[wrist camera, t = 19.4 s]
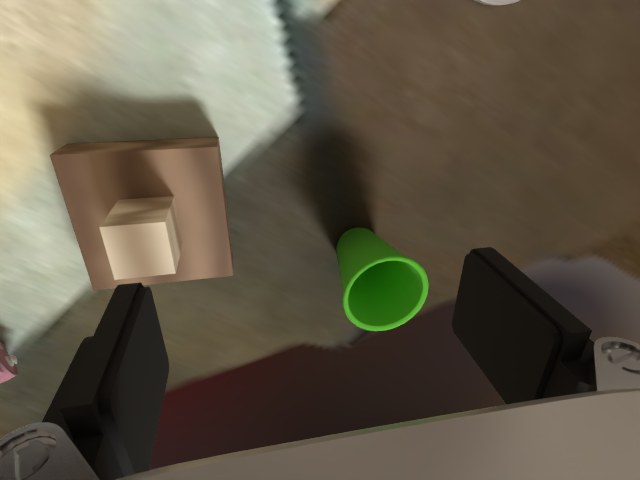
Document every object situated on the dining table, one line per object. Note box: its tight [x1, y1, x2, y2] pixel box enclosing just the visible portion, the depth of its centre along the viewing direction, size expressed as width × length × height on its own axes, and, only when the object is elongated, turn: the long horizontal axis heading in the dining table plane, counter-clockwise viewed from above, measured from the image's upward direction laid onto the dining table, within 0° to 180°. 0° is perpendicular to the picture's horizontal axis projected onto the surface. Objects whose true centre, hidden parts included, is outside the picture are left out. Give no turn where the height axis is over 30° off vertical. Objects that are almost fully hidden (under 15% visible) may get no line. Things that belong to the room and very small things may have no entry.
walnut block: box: [50, 137, 233, 290], centre depth 40 cm, size 14×14×4 cm
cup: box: [336, 228, 428, 331], centre depth 44 cm, size 9×9×11 cm
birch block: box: [99, 196, 183, 280], centre depth 35 cm, size 5×5×6 cm
